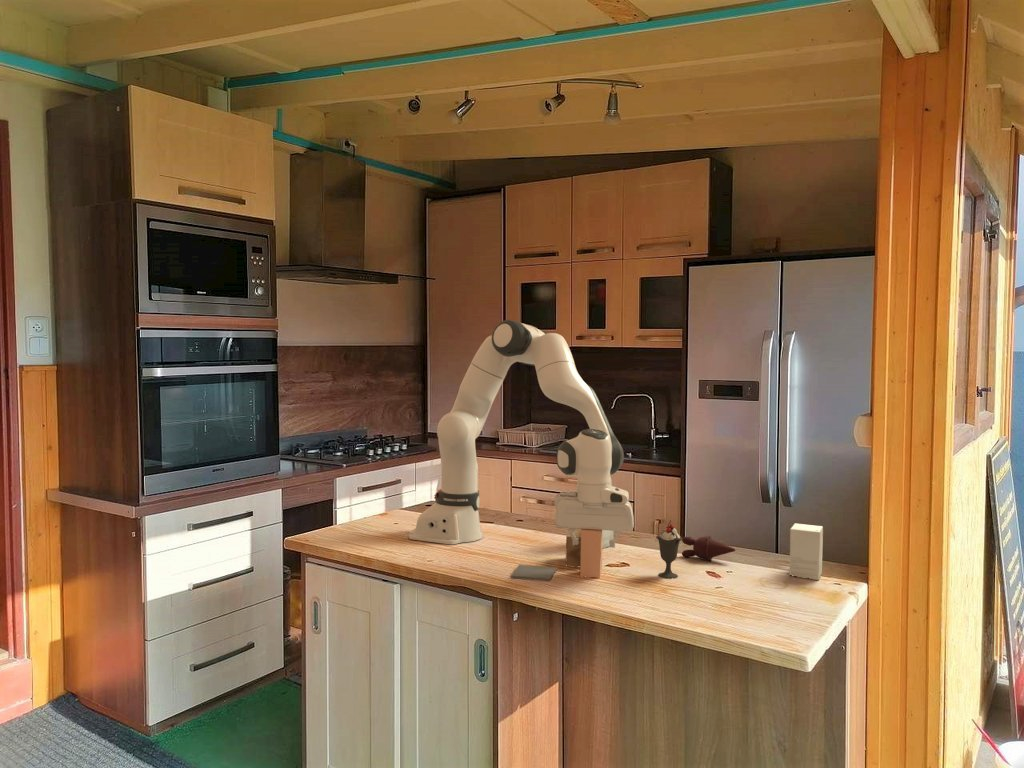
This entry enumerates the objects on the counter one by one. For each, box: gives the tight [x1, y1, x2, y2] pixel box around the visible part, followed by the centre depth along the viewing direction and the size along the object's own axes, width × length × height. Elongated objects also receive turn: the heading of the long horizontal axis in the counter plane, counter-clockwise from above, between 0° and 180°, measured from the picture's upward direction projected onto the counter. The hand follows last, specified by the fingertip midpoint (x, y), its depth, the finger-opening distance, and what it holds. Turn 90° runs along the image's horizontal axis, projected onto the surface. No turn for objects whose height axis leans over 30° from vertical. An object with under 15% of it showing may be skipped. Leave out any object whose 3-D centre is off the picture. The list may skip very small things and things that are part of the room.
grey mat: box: [510, 564, 557, 582], centre depth 204 cm, size 10×10×1 cm
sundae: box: [655, 519, 683, 580], centre depth 203 cm, size 7×7×15 cm
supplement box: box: [789, 523, 824, 581], centre depth 206 cm, size 7×7×13 cm
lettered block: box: [565, 529, 581, 568], centre depth 214 cm, size 8×8×8 cm
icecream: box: [681, 535, 736, 562], centre depth 219 cm, size 7×7×15 cm
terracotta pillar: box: [579, 529, 603, 579], centre depth 203 cm, size 5×5×12 cm
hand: (593, 546), depth 204 cm, fingers open, 8 cm apart
